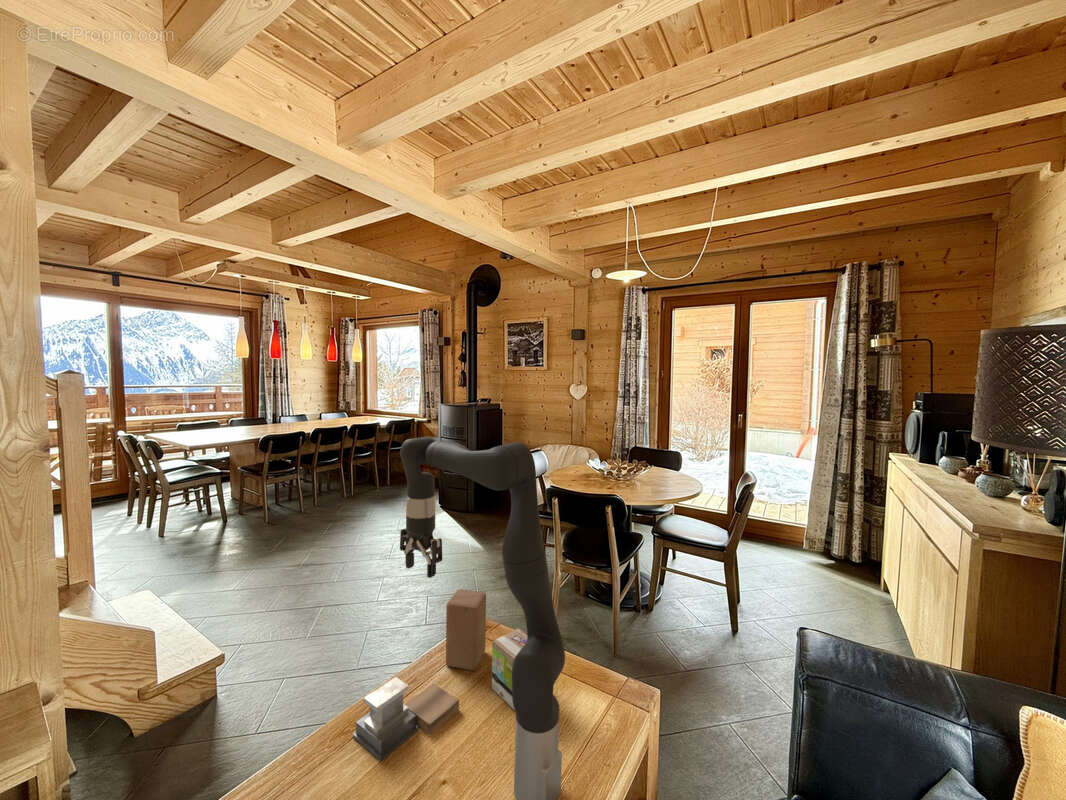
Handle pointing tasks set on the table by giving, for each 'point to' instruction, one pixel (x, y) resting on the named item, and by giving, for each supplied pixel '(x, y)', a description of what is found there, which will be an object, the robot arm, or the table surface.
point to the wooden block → (465, 629)
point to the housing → (386, 705)
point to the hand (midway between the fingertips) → (420, 571)
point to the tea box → (506, 662)
